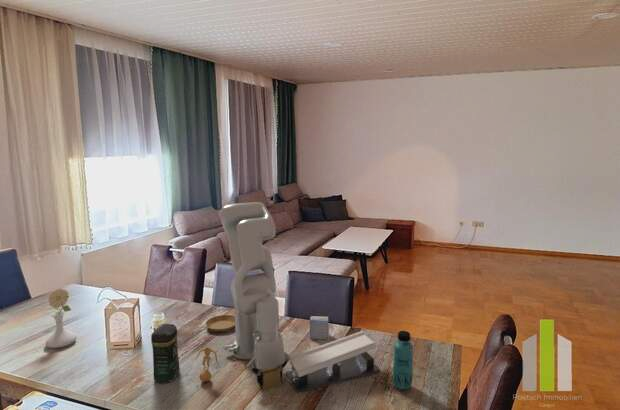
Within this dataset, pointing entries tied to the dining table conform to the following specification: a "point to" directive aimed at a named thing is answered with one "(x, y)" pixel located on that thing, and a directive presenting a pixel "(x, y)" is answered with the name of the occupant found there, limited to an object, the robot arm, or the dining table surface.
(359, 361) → the seesaw stand
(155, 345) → the coffee jar
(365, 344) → the beam
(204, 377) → the figurine
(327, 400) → the dining table surface
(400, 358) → the beverage bottle
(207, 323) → the plant saucer
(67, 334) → the flower in vase
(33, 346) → the dining table surface
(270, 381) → the block
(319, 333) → the medicine box
